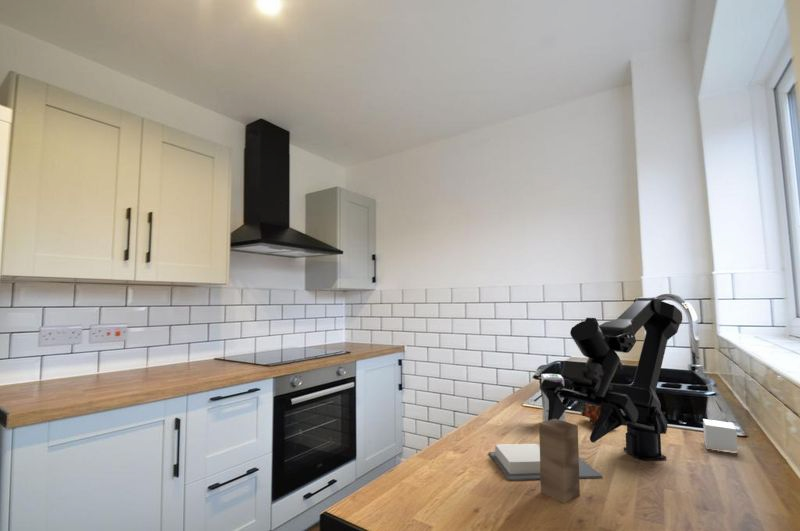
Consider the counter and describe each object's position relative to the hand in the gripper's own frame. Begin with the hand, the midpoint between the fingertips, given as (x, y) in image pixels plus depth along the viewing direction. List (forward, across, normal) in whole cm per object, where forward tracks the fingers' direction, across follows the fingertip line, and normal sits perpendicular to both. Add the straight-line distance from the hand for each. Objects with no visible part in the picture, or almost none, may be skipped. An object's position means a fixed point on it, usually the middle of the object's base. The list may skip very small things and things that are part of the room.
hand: (569, 434), depth 79 cm
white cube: (-29, +8, +43) cm, 52 cm away
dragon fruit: (-23, -18, +38) cm, 48 cm away
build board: (+4, -10, +11) cm, 15 cm away
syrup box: (-14, -25, +29) cm, 41 cm away
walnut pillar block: (+10, 0, +5) cm, 11 cm away
